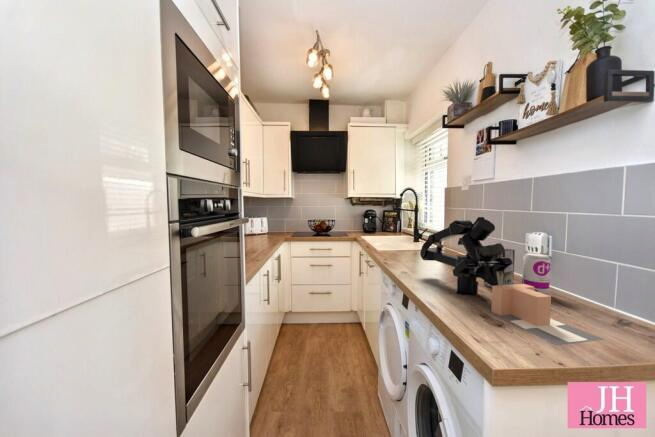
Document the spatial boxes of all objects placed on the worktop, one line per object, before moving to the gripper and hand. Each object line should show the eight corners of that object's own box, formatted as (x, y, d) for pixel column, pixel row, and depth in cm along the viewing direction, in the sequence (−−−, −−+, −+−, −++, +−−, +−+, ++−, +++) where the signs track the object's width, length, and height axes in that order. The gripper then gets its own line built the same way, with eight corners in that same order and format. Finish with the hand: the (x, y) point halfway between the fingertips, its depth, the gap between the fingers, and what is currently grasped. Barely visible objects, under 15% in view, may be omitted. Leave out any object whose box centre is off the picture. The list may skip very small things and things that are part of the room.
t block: (491, 311, 85) (492, 285, 84) (523, 308, 87) (524, 283, 87) (525, 327, 73) (526, 298, 73) (560, 323, 76) (562, 295, 76)
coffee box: (514, 289, 109) (516, 249, 108) (503, 291, 106) (505, 250, 106) (492, 283, 117) (494, 246, 117) (482, 284, 115) (483, 247, 114)
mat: (485, 311, 85) (485, 310, 85) (524, 308, 88) (524, 307, 88) (556, 346, 64) (556, 345, 64) (604, 340, 67) (604, 339, 67)
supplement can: (553, 298, 99) (556, 257, 98) (528, 296, 101) (530, 256, 100) (541, 291, 107) (543, 253, 106) (517, 289, 108) (519, 252, 108)
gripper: (463, 235, 92) (487, 276, 82) (510, 234, 96) (537, 274, 86) (447, 253, 100) (467, 293, 90) (490, 252, 104) (514, 290, 94)
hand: (496, 287), depth 90 cm, fingers closed
